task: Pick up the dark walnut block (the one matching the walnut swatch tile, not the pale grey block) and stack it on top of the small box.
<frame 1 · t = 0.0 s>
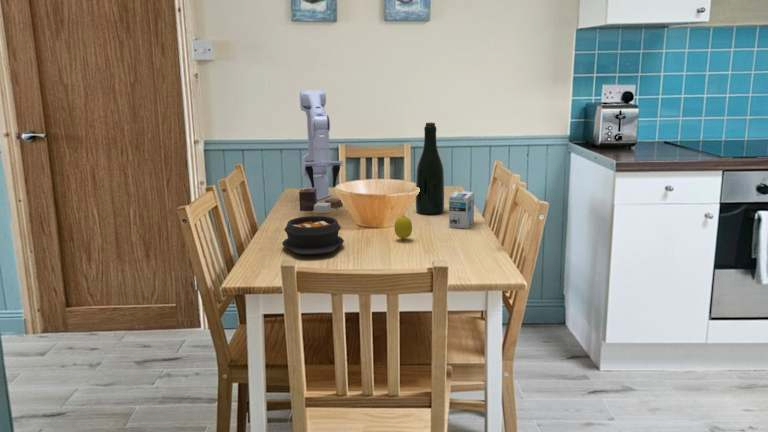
hand: (323, 187, 236), 11 cm above the table, tool pointing down, fingers open, 7 cm apart
casserole: (313, 248, 199), on the table
walnut block: (333, 207, 252), on the table
light bulb box: (461, 225, 224), on the table
grey block: (322, 211, 246), on the table
swatch tile: (322, 204, 257), on the table
lemon: (403, 240, 206), on the table
box: (308, 209, 250), on the table
wine bottle: (429, 212, 242), on the table
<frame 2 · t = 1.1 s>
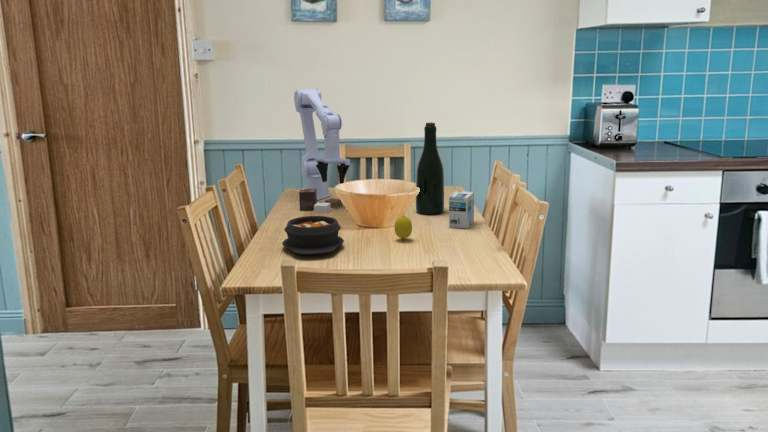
hand: (333, 182, 250), 10 cm above the table, tool pointing down, fingers open, 7 cm apart
nothing on the table moved.
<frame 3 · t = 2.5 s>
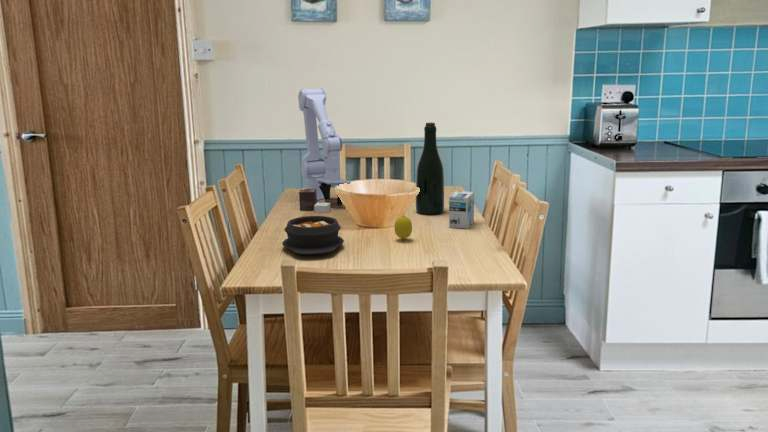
hand: (333, 203, 252), 1 cm above the table, tool pointing down, fingers closed on walnut block, 5 cm apart
walnut block: (333, 206, 252), on the table, touching gripper
everything else where it was.
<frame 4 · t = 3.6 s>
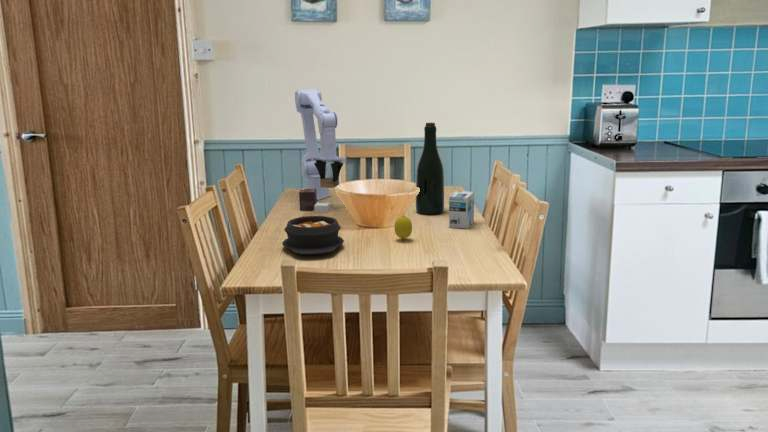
hand: (329, 180, 249), 10 cm above the table, tool pointing down, fingers closed on walnut block, 5 cm apart
walnut block: (329, 186, 250), point 8 cm above the table, touching gripper
everything else where it was.
when the fingers open (9 cm above the table, at t = 4.9 s): walnut block stays where it is, resting on box.
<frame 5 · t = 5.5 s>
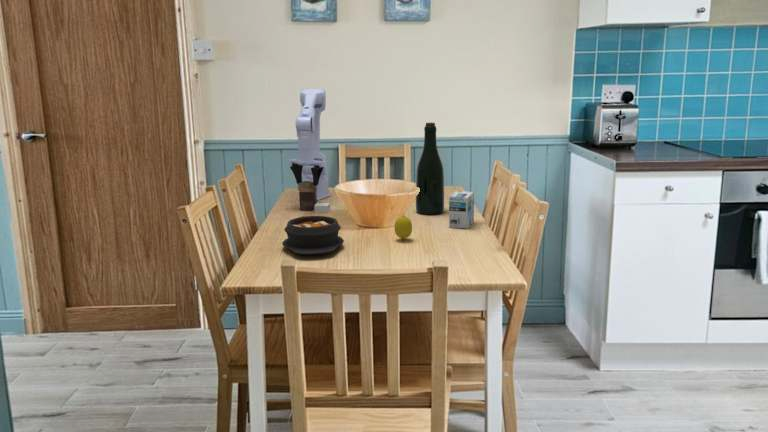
hand: (307, 184, 247), 9 cm above the table, tool pointing down, fingers open, 7 cm apart
walnut block: (307, 190, 248), point 7 cm above the table, touching box
box: (308, 209, 250), on the table, touching walnut block
everything else where it was.
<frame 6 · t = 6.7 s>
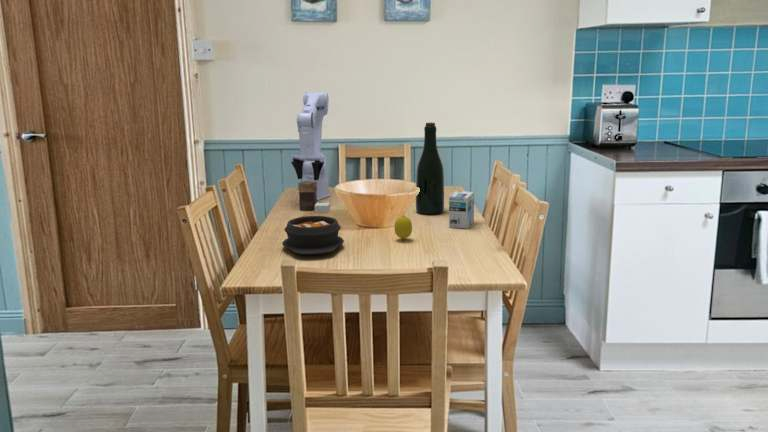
hand: (308, 179, 252), 10 cm above the table, tool pointing down, fingers open, 7 cm apart
nothing on the table moved.
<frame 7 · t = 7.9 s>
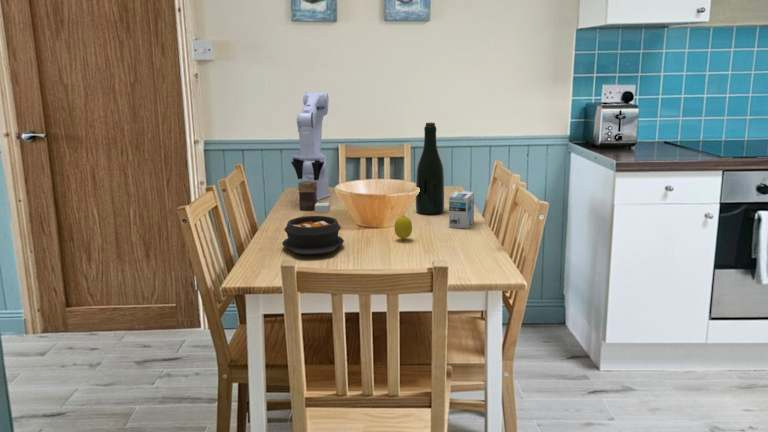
hand: (308, 179, 252), 10 cm above the table, tool pointing down, fingers open, 7 cm apart
nothing on the table moved.
at the end: walnut block 0.0 cm off-centre on the box, point 7.5 cm above the box's base; walnut block tilted 0°; grey block moved 0.3 cm from its start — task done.
